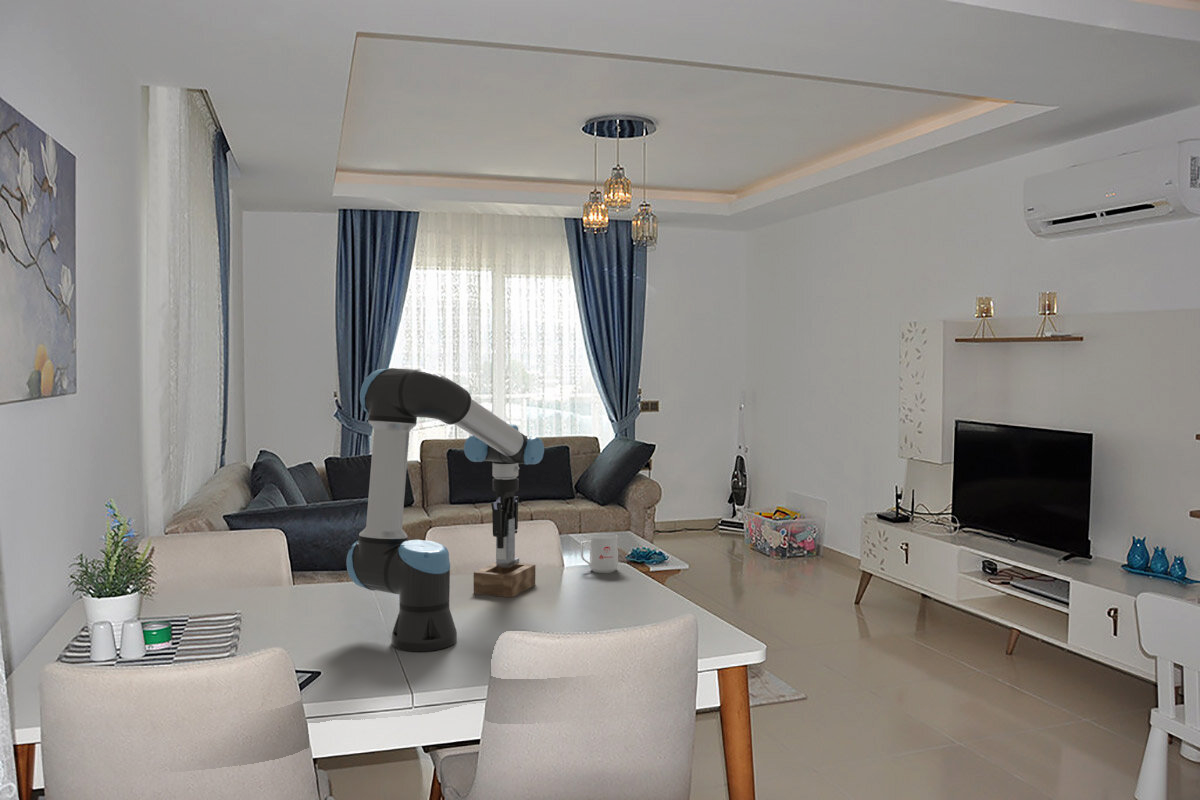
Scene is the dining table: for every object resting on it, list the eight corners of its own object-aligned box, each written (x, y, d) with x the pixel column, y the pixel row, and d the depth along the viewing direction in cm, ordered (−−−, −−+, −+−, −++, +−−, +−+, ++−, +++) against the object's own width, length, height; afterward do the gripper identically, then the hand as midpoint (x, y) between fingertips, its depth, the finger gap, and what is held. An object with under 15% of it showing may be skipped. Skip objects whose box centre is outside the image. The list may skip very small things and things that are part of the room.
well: (511, 597, 259) (511, 576, 259) (473, 593, 263) (473, 572, 263) (535, 584, 274) (535, 564, 274) (499, 580, 278) (499, 560, 278)
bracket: (508, 568, 266) (508, 520, 265) (496, 567, 267) (496, 519, 267) (519, 563, 272) (519, 516, 272) (507, 561, 274) (507, 515, 273)
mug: (612, 566, 299) (613, 532, 298) (621, 572, 290) (621, 537, 290) (576, 568, 295) (577, 534, 295) (584, 575, 287) (584, 539, 286)
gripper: (503, 482, 258) (503, 564, 259) (529, 474, 274) (529, 552, 275) (479, 480, 261) (479, 562, 262) (507, 473, 276) (507, 550, 278)
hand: (505, 557), depth 268 cm, fingers closed on bracket, 4 cm apart
